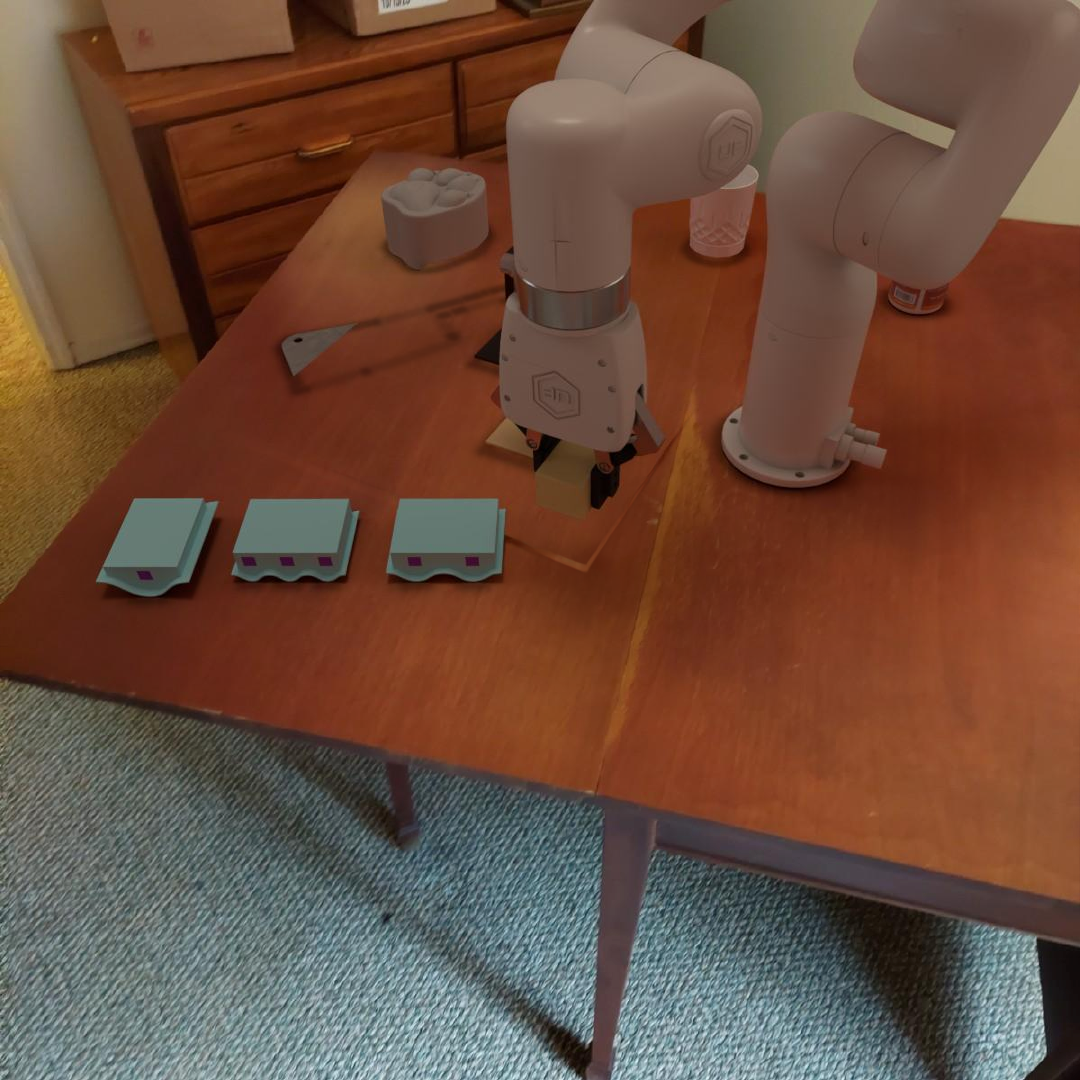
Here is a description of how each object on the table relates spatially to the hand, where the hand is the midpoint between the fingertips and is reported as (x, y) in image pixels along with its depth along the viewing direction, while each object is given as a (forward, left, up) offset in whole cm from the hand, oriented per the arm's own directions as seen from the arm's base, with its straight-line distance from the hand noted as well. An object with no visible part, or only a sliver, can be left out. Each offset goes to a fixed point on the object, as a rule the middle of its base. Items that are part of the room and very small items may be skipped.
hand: (576, 486), depth 76 cm
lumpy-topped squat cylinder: (+41, -43, -10) cm, 60 cm away
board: (+9, -14, -10) cm, 20 cm away
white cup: (+9, -57, -10) cm, 59 cm away
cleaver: (+33, -24, -10) cm, 42 cm away
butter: (0, 0, 0) cm, 0 cm away
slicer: (+19, -28, -10) cm, 35 cm away
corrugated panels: (+22, +9, -10) cm, 25 cm away
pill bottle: (-16, -56, -10) cm, 59 cm away
